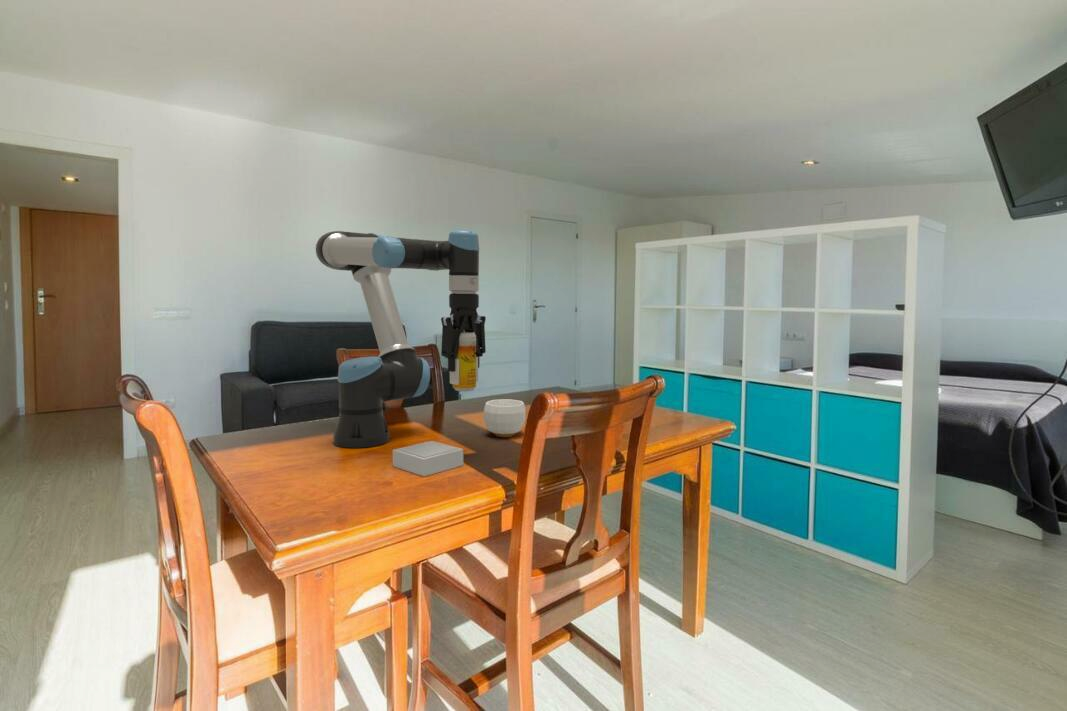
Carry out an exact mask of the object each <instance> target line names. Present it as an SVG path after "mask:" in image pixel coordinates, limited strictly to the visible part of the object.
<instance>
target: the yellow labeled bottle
mask: <svg viewBox="0 0 1067 711" xmlns="http://www.w3.org/2000/svg"><path fill="white" fill-rule="evenodd" d="M452 354H453V353H452ZM456 359H459V385H455V384H452V388H453V389H454V391H457V392H472V391H474V390H475V388H477V382H476V335H475V332H472V333H468V332H465V331H464V332H463V333H461V334H460V337H459V349H458V353H457V357H456Z"/></svg>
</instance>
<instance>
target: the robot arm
mask: <svg viewBox="0 0 1067 711" xmlns="http://www.w3.org/2000/svg"><path fill="white" fill-rule="evenodd" d="M479 241H480V240H479V235H478V233H477V232H475V231H473V230H452V231H450V232H449V233H448V240H431V239H430V240H428V239H417V238H415V239H414V238H403V237H395V236H383V235H381V234H376V233H373V232H372V233H371V232H370V233H365V232H364V233H362V232H353V231H343V230H337V231H335V230H334V231H330V232H329V231H328V232H326V233H324V234H322V235H321V236H320V237H319V238H318V240H317V241H316V243H315V254H316V257H317V259H318V260H319V262H320V263H321V264H323V265H324V266H325V267H327V268H329V269H332V270H336V271H349V272H351V273H352V277H353V280H354V281H355V282H357V283H359V284H360V287H361V290H362V295H363V297H364V298H363V299H364V301H365V305H366V307H367V311H368V314H369V319H370V322H371V325H372V326H371V327H372V329H373V332H374V335H375V340H376V343H377V347H378V350H379V355H378V356H365V357H364V356H361V357H355V358H350V359H347V360H345V361H343V362H342V363H341V364H339V366H338V372H337V382H338V408H339V410H338V412H339V416H338V419H337V422H336V426H335V430H334V432H333V437H332V438H333V444H334V445H335V446H337V447H341V448H349V449H352V448H353V449H355V448H356V449H357V448H358V449H359V448H361V449H362V448H371V447H376V446H380V445H383V444H386V443H388V442H389V441H390V430H389V427H388V424H387V421H386V419H385V416H384V413H383V410H384V409H383V402H389V401H397V400H398V401H399V400H402V399H403V400H405V399H411V398H417V397H420V396H422V395H423V394H424V393H425V392H426V391H427V389H428V387H429V384H430V380H431V370H430V369H431V368H430V365H429V363H428V361H427V359H425V358H424V357H422V356H421V357H418V355H417V351H416V349H415V348H414V347H412V346H411V345H409V343H408V339H407V336H406V333H405V329H404V326H403V321H402V319H401V315H400V312H399V309H398V306H397V302H396V298H395V296H394V292H393V289H392V286H391V282H390V278H389V276H390V275H391V273H392V269H407V270H408V269H410V270H411V269H413V270H428V271H435V272H438V271H447V270H448V290H449V291H450V294H449V295H448V306H449V308H450V313H449V315H448V316H442V317H441V318H440V321H441V325H442V328H441V330H442V331H441V332H442V334H441V350H440V351H441V352H440V354H441V357H444V358H445V359H447V370H448V372H449V384H451V385H453V384H455V385H459V359H456V357H457V353H458V349H459V337H460V334H461V333H463V332H464V331H465V332H468V333H472V332H475V335H476V383H478V382H479V368H480V358H481V357H483V356H484V354H485V353H486V352H487V351H486V331H485V330H486V329H485V324H486V319H487V318H486V316H485V315H480V314H478V312H477V309H478V308H479V304H480V303H479V302H480V295H479V294H478V293H477V292H479V290H480V286H479V280H480V279H479V276H480V275H479V273H480V272H479V271H480V270H479V269H480V264H479V262H480V244H479ZM452 353H453V354H452Z"/></svg>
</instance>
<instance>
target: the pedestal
mask: <svg viewBox="0 0 1067 711" xmlns="http://www.w3.org/2000/svg"><path fill="white" fill-rule="evenodd" d="M463 466H464V449H463V448H459V447H456V446H453V445H449V444H445V443H442V442H438V441H434V440H430V441H424V442H421V443H420V442H419V443H415V444H412V445H408V446H403V447H400V448H395V449H392V467H394V468H398V469H400V470H404V471H406V472H409V473H412V474H415V475H418V476H422V477H424V478H425V477H428V476H430V475H435V474H438V473H441V472H445V471H448V470H451V469H455V468H459V467H463Z"/></svg>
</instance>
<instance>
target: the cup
mask: <svg viewBox="0 0 1067 711" xmlns="http://www.w3.org/2000/svg"><path fill="white" fill-rule="evenodd" d="M526 412H527V410H526V406H525V403H524V402H523V401H522V400H518V399H511V398H510V399H507V398H506V399H505V398H502V399H500V398H499V399H492V400H488V401H486V402H485V405H484V407H483V420H484V423H485V427H486V428H487V429H488V431H490V433H493V434H494V435H495V436H496V437H501V438H509V437H510V438H511V437H513V436H515V434H517V433H519V432H520V431H521V430H522V428H523V427H524V425H525V421H526V419H527V418H526Z"/></svg>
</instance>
